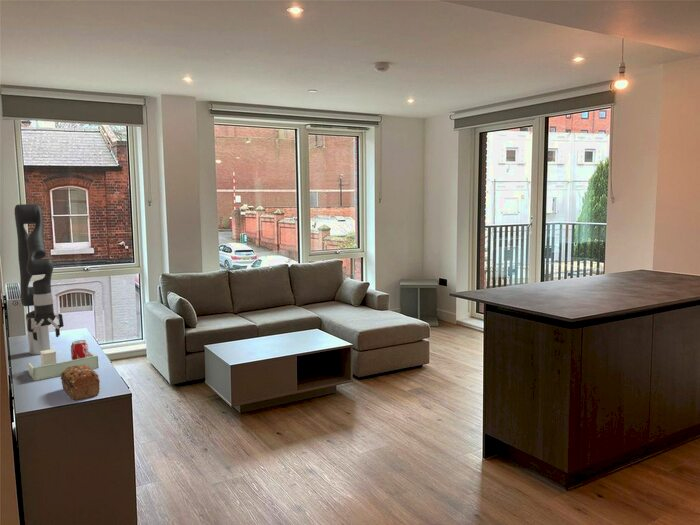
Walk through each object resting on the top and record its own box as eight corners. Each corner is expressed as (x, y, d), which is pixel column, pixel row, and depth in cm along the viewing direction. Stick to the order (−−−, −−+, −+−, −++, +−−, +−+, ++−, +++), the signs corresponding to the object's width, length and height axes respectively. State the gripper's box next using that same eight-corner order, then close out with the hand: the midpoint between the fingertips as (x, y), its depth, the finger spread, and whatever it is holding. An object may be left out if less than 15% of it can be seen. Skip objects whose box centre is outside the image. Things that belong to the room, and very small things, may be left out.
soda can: (82, 370, 247) (80, 344, 245) (68, 369, 248) (66, 343, 247) (93, 365, 254) (91, 339, 252) (79, 364, 255) (77, 339, 254)
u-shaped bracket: (28, 373, 243) (27, 361, 243) (90, 361, 260) (89, 350, 259) (34, 380, 234) (33, 368, 233) (98, 367, 250) (97, 355, 249)
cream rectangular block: (41, 367, 253) (40, 351, 252) (54, 365, 256) (52, 349, 255) (44, 370, 248) (42, 354, 247) (57, 368, 251) (55, 351, 250)
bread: (101, 395, 215) (99, 370, 213) (71, 402, 208) (68, 376, 207) (89, 383, 229) (87, 360, 228) (61, 389, 223) (58, 365, 222)
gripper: (59, 300, 256) (62, 334, 257) (23, 304, 247) (27, 339, 248) (62, 302, 250) (65, 337, 252) (26, 306, 241) (30, 343, 243)
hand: (46, 338), depth 250 cm, fingers open, 8 cm apart
